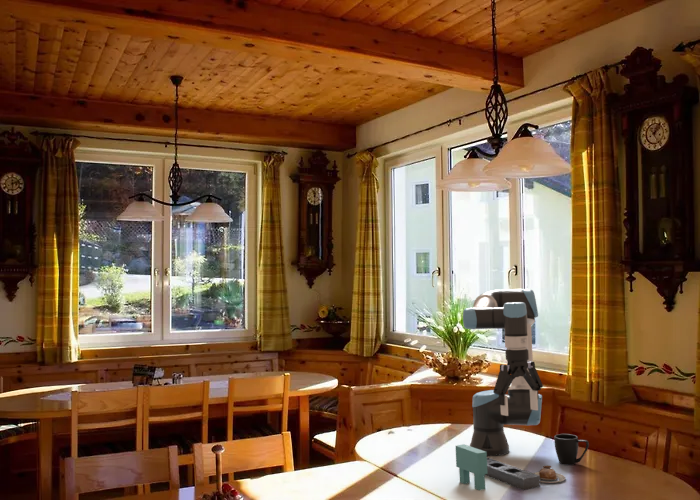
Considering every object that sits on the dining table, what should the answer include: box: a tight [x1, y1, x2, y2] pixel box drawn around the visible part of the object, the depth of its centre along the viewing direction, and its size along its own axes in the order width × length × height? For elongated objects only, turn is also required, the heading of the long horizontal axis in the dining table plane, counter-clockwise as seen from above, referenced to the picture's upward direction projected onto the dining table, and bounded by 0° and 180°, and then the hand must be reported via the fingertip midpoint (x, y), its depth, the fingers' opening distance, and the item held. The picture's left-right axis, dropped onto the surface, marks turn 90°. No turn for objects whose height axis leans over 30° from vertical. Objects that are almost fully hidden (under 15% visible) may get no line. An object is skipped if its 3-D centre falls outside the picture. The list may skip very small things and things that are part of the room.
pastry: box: [533, 465, 566, 484], centre depth 219 cm, size 12×12×5 cm
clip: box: [455, 443, 488, 491], centre depth 214 cm, size 12×4×12 cm, turn 27°
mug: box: [553, 433, 590, 466], centre depth 235 cm, size 8×12×10 cm
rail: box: [485, 457, 541, 491], centre depth 221 cm, size 26×7×4 cm, turn 27°
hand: (519, 412), depth 216 cm, fingers open, 13 cm apart
